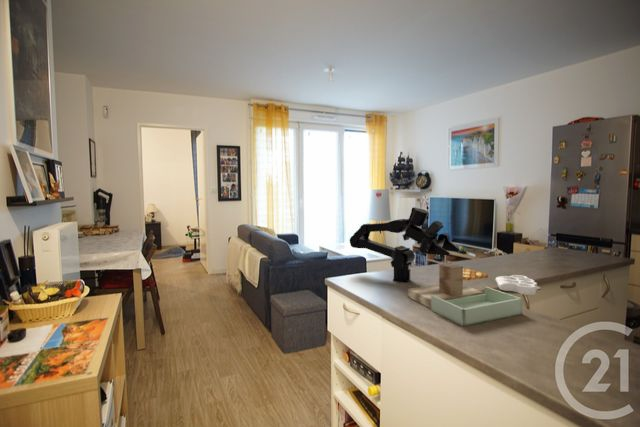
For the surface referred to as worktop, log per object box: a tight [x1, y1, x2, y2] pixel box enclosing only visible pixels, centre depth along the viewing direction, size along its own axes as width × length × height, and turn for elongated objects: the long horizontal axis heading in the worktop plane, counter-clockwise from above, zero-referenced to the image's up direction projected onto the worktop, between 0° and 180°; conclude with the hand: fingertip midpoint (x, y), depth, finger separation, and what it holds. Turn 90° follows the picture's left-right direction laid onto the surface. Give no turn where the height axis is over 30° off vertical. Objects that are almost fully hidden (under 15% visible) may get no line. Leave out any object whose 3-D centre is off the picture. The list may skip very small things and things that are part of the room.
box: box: [430, 286, 523, 327], centre depth 107 cm, size 14×24×5 cm, turn 111°
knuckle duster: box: [494, 274, 542, 296], centre depth 131 cm, size 3×18×15 cm
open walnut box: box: [438, 262, 464, 296], centre depth 117 cm, size 6×5×10 cm
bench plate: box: [407, 283, 484, 309], centre depth 120 cm, size 14×22×3 cm, turn 111°
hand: (454, 252), depth 128 cm, fingers open, 9 cm apart
